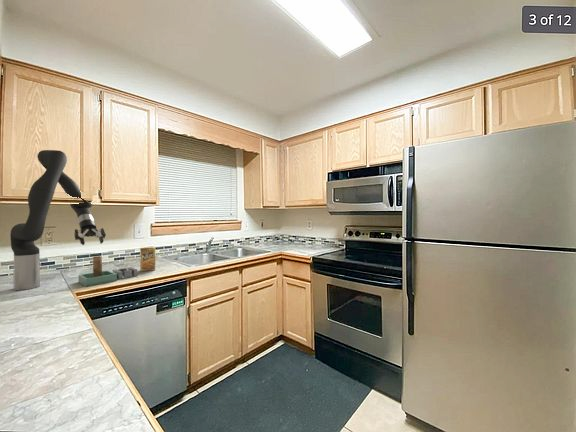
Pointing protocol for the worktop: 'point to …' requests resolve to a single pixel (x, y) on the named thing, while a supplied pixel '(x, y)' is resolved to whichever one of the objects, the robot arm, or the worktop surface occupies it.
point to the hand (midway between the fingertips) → (92, 243)
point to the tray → (97, 278)
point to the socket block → (125, 272)
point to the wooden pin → (97, 266)
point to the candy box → (147, 258)
